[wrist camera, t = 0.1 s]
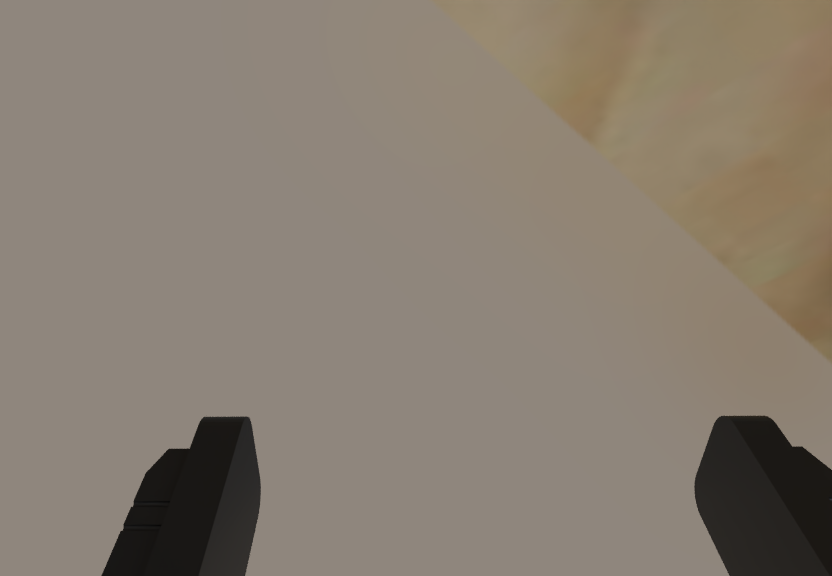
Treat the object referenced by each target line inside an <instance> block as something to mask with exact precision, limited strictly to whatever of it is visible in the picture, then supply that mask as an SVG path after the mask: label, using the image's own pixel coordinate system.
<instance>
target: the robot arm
mask: <svg viewBox="0 0 832 576" xmlns="http://www.w3.org/2000/svg"><path fill="white" fill-rule="evenodd" d="M260 489H261V486H260V475H259V468H258V462H257V456H256V450H255V444H254V437H253V431H252V425H251V421H250V419H249V417H203V419H202V420H201V421H200V423H199V425H198V428H197V431H196V433H195V436H194V439H193V441H192V444H191V447H190V449H168V450H167V451H166V452H165V453H164V455H163V456H162V457H161V458H160V459H159V460H158V461H157V462H156V463H155V464H154V465H153V466H152V467H151V468H150V469H149V470H148V471H147V472H146V474H145V477H144V479H143V481H142V483H141V486H140V488H139V490H138V492H137V495H136V497H135V499H134V505H133V507H131V509H130V511H129V513H128V516H127V518H126V520H125V523H124V529H123V531H121V532H120V534H119V536H118V539H117V541H116V543H115V546H114V548H113V550H112V553H111V555H110V557H109V560H108V562H107V565H106V567H105V569H104V571H103V574H102V576H245V573H246V569H247V564H248V560H249V555H250V551H251V546H252V542H253V537H254V533H255V528H256V523H257V519H258V514H259V507H260V494H261V493H260V492H261V490H260ZM695 499H696V504H697V507H698V511H699V513H700V515H701V517H702V520H703V522H704V524H705V526H706V528H707V530H708V532H709V534H710V536H711V538H712V540H713V542H714V544H715V546H716V549H717V550H718V553H719V555H720V557H721V559H722V561H723V563H724V565H725V567H726V569H727V571H728V573H729V575H730V576H832V470H831V469H830V468H828V467H827V466H826V465H825V464H823V463H822V462H821V461H820V460H818V459H817V458H816V457H815V456H813V455H812V454H811V453H809V452H808V451H807V450H806V449H804V448H803V447H792V446H791V444H790V443H789V442H788V440H787V439H786V437H785V436H784V434H783V433H782V432H781V430H780V429H779V428H778V426H777V424H776V423H775V422H774V421H773V420H772V419H771V418H769V417H767V416H721V417H719V418H718V419H717V420H716V422H715V423H714V426H713V429H712V432H711V434H710V437H709V440H708V443H707V446H706V449H705V452H704V454H703V457H702V460H701V463H700V466H699V469H698V472H697V475H696V478H695Z"/></svg>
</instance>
